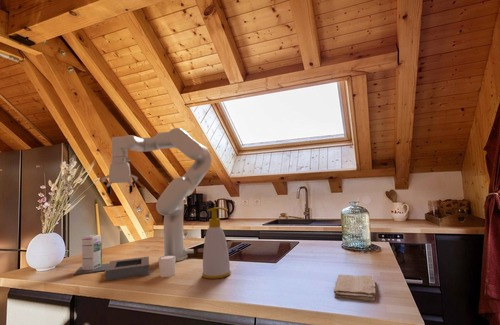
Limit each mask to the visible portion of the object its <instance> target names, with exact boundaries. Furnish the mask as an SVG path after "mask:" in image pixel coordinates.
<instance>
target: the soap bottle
mask: <svg viewBox="0 0 500 325" xmlns="http://www.w3.org/2000/svg"><path fill="white" fill-rule="evenodd" d="M218 210H222V211H224V212H228V211H229V209H228V208H226V207H221V206H218V207H216V206H215V207H211V208H209V209H207V210H206V212H211V218H210V219H209V220H208V223H209V224H208V225H209V226H208V228H207V230H206V233H205V236H204V237H205V238H204V242H203V243H204V244H203V250H202V251H203V252H202V254H203V255H202V273H201V276H202V277H203V278H205V279H210V280H218V279H223V278H226V277H229V276H230V275H231V273H232V271H231V270H230V267H231V266H230V265H231V264H230V256H229V248H228V243H227V239H226V238H227V237H226V235H225V232H224V230H223V228H222V226H221V218H218V214H217V213H218V212H217V211H218Z"/></svg>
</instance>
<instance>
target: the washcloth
mask: <svg viewBox="0 0 500 325" xmlns="http://www.w3.org/2000/svg"><path fill="white" fill-rule="evenodd" d="M333 293H334V295H333V297H334V298H337V299H338V298H339V299H340V300H341V299H342V300H349V301H351V300H353V301H362V302H363V301H364V302H375V300H376V284H375V277H374V275H349V274H338V275H337V278H336V281H335V286H334V288H333Z"/></svg>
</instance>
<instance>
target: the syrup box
mask: <svg viewBox="0 0 500 325" xmlns="http://www.w3.org/2000/svg"><path fill="white" fill-rule="evenodd" d="M102 245H103V244H102V235H101V234H91V235H88V236H83V237H81V254H82V255H81V258H82V259H81V263H82V264H81V267H82V270H94V269H96V268H99V267H102V264H103V249H102V248H103V247H102Z"/></svg>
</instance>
